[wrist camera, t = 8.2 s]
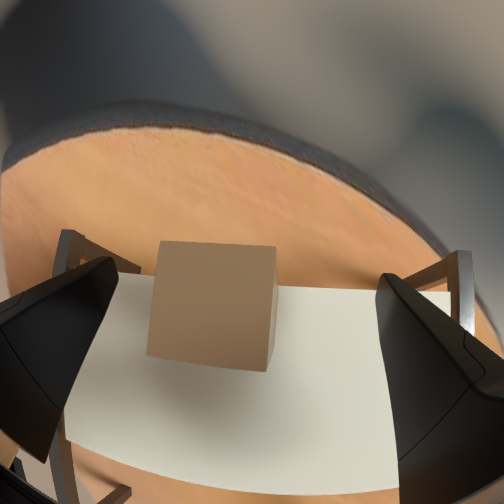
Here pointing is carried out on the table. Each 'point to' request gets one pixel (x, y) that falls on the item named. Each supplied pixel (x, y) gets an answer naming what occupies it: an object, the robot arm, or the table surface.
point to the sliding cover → (239, 378)
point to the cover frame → (78, 247)
